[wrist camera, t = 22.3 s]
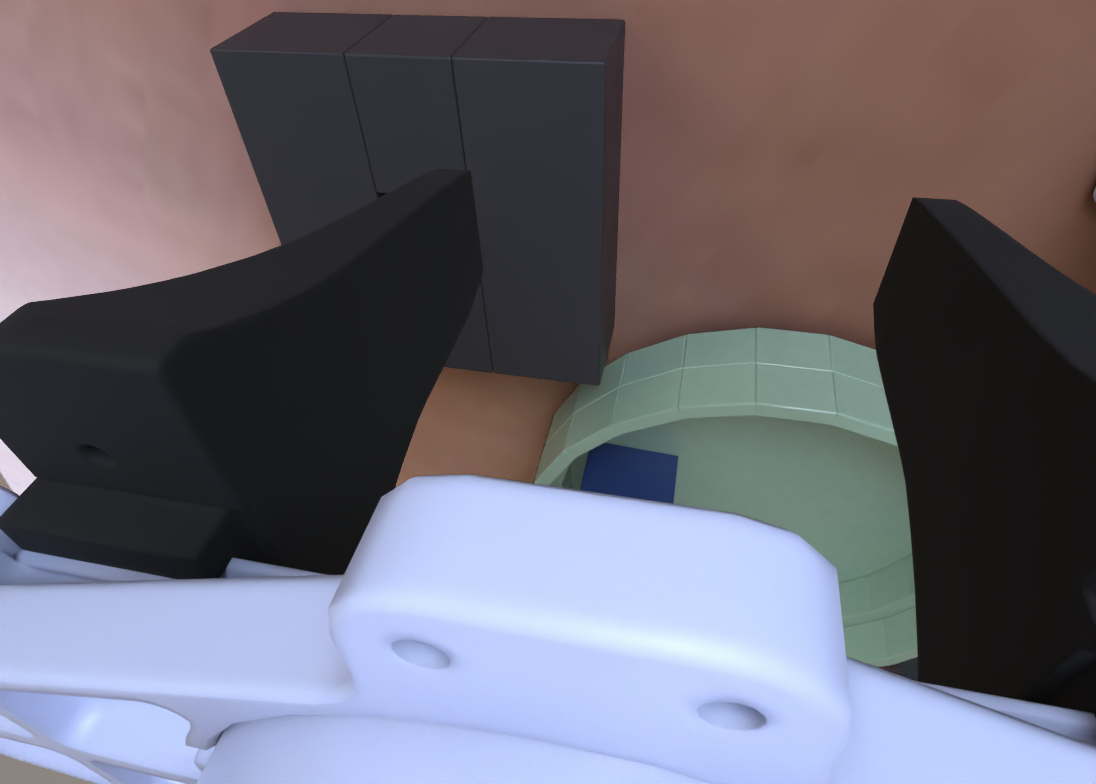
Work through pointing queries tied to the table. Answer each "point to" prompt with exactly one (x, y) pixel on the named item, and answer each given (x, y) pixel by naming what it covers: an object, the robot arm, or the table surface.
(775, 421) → the bowl
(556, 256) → the stand
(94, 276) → the table surface
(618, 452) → the block
